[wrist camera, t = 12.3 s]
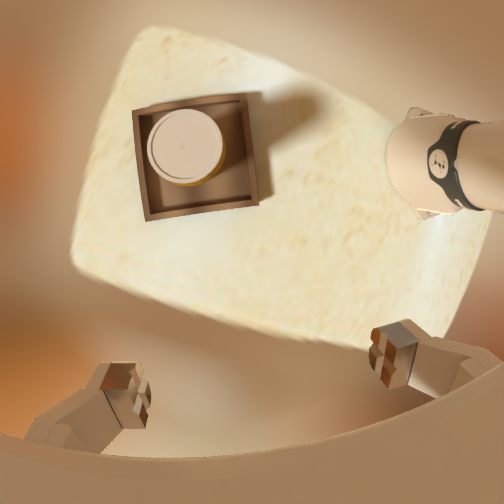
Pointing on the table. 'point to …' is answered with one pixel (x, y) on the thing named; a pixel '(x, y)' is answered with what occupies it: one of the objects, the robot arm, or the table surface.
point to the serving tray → (217, 188)
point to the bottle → (186, 147)
